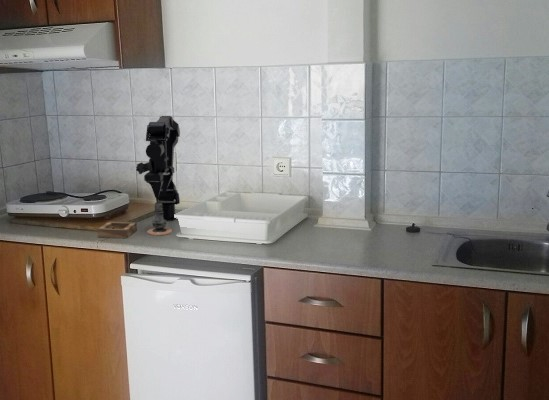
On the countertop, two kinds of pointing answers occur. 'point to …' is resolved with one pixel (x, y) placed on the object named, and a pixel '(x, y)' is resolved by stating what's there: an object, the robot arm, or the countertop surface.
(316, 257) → the countertop surface
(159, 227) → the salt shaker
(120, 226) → the walnut holder
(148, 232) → the coaster
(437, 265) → the countertop surface
